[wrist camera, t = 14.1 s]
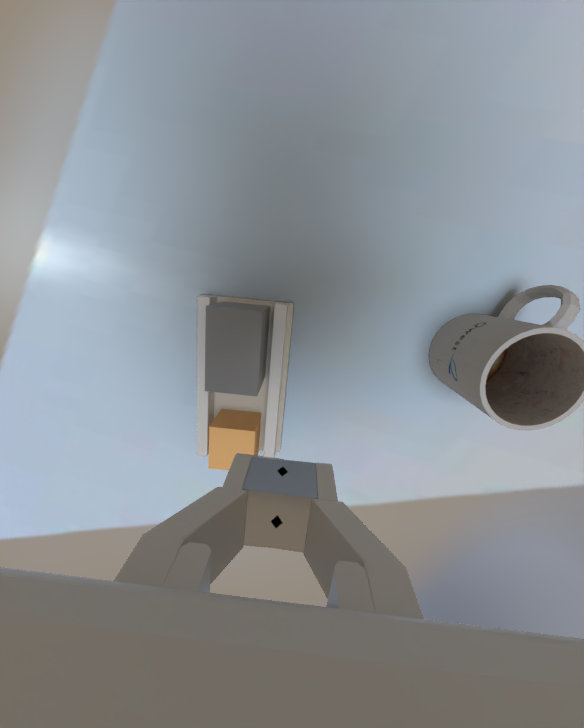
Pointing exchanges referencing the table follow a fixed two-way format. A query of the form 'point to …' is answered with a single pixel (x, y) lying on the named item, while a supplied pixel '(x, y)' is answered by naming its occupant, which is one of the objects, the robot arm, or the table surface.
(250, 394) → the block
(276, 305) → the rail
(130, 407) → the table surface
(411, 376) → the table surface
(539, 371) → the mug
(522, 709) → the robot arm
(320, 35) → the table surface
